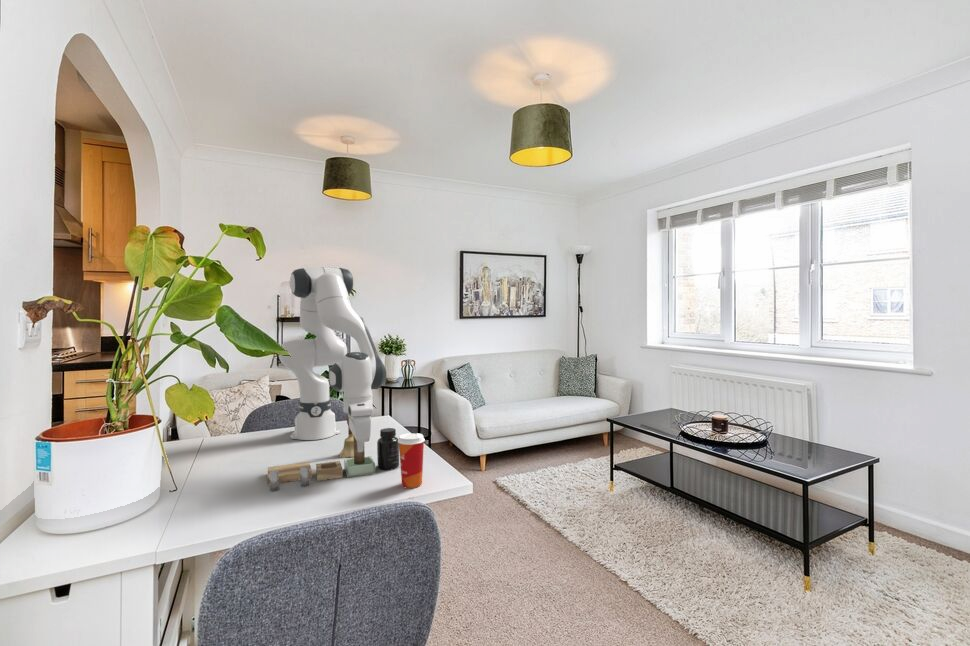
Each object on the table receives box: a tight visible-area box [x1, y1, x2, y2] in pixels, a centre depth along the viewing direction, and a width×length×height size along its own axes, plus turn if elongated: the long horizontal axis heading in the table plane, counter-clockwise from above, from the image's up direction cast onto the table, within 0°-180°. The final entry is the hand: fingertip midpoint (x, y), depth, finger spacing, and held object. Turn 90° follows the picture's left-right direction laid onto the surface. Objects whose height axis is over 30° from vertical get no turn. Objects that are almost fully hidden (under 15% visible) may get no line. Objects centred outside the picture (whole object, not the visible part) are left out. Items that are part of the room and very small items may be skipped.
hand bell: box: [338, 413, 354, 459], centre depth 161 cm, size 8×8×16 cm
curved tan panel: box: [267, 461, 313, 486], centre depth 140 cm, size 10×12×2 cm
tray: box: [343, 455, 376, 478], centre depth 144 cm, size 8×8×3 cm
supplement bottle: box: [376, 427, 400, 471], centre depth 147 cm, size 7×7×12 cm
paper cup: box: [398, 432, 426, 489], centre depth 132 cm, size 8×8×14 cm
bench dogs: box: [269, 466, 311, 492], centre depth 131 cm, size 2×10×5 cm, turn 113°
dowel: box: [353, 435, 366, 465], centre depth 143 cm, size 3×3×9 cm
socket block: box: [315, 460, 343, 482], centre depth 140 cm, size 7×7×3 cm
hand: (359, 449), depth 143 cm, fingers closed on dowel, 3 cm apart
